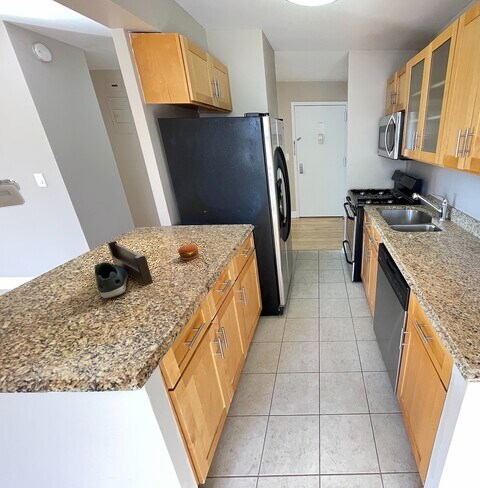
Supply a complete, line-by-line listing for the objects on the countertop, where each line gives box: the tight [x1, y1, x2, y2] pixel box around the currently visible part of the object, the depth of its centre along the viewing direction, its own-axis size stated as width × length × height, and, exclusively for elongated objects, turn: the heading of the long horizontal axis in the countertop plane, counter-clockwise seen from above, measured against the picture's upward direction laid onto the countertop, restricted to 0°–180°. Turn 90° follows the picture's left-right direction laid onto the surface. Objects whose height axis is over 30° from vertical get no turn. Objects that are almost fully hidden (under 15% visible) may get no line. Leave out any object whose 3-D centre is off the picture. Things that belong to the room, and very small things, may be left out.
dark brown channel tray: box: [106, 239, 154, 286], centre depth 118 cm, size 3×32×13 cm, turn 56°
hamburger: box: [175, 243, 202, 261], centre depth 136 cm, size 9×10×7 cm
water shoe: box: [94, 261, 129, 300], centre depth 110 cm, size 10×29×12 cm, turn 42°
